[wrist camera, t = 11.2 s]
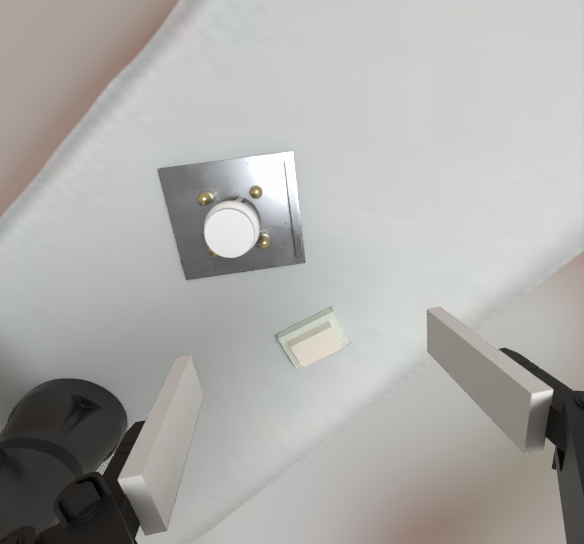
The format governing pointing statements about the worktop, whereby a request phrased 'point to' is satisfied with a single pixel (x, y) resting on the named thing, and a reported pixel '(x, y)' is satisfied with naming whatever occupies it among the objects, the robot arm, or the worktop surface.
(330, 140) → the worktop surface
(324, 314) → the soap dish
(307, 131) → the worktop surface
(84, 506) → the robot arm
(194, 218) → the plate
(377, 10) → the worktop surface
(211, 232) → the pill bottle
